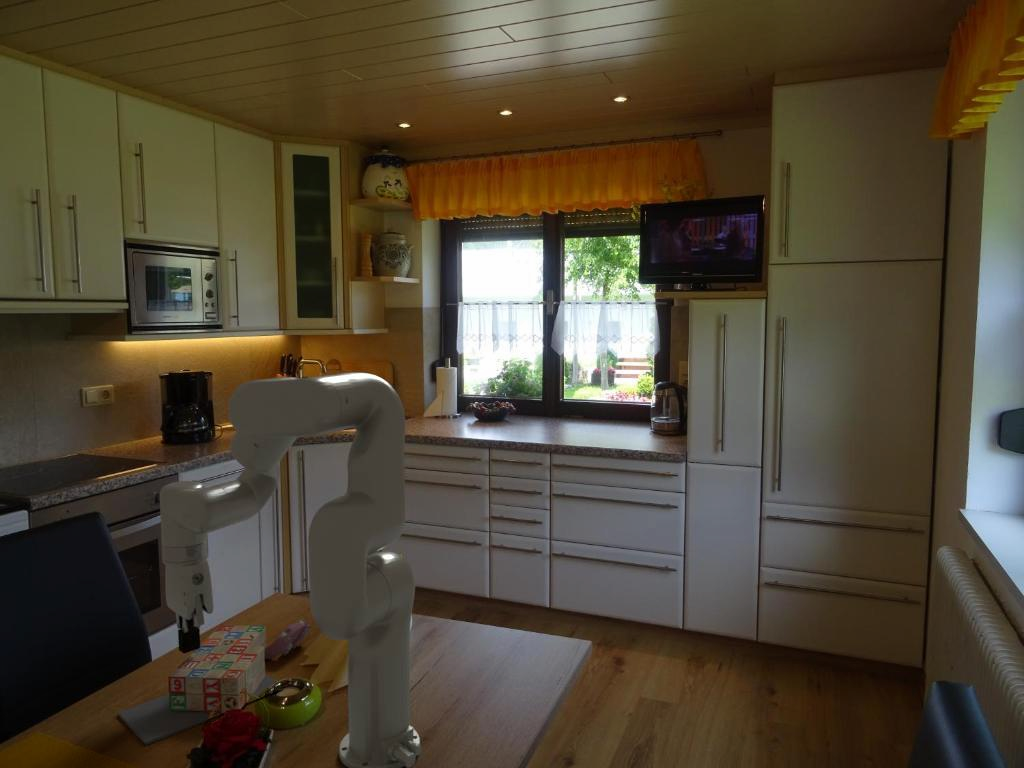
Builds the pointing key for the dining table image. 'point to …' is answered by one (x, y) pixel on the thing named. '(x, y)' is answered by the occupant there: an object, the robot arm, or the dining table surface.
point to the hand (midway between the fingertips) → (189, 649)
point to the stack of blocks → (220, 671)
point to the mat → (168, 717)
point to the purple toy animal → (287, 640)
